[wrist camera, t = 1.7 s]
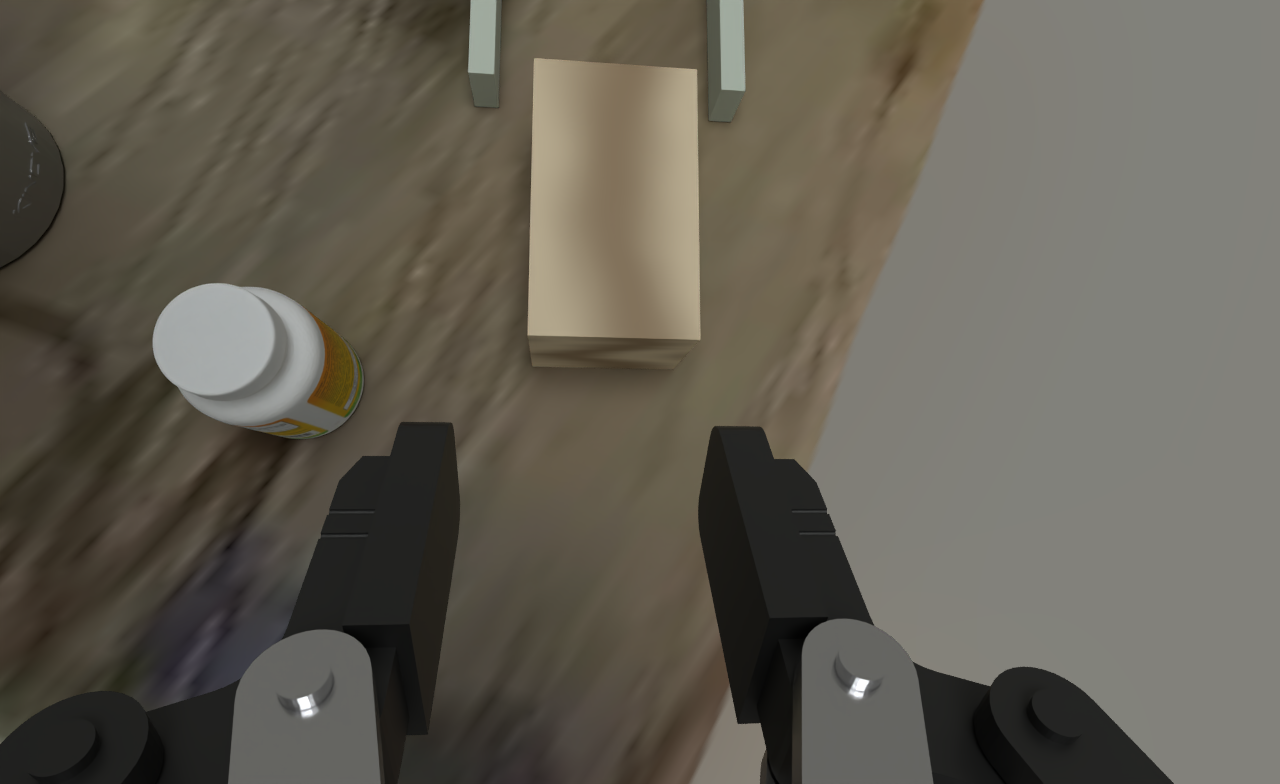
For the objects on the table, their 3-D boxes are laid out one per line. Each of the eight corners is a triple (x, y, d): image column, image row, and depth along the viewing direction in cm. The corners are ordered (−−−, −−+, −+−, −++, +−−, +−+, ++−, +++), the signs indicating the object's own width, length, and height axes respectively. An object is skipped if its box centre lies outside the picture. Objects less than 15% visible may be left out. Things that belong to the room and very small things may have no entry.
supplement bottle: (319, 305, 35) (233, 231, 25) (389, 391, 35) (328, 350, 25) (222, 374, 34) (93, 324, 24) (293, 463, 34) (192, 449, 24)
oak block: (532, 367, 36) (527, 335, 29) (537, 138, 38) (534, 58, 31) (672, 369, 37) (700, 339, 30) (671, 146, 39) (696, 69, 32)
